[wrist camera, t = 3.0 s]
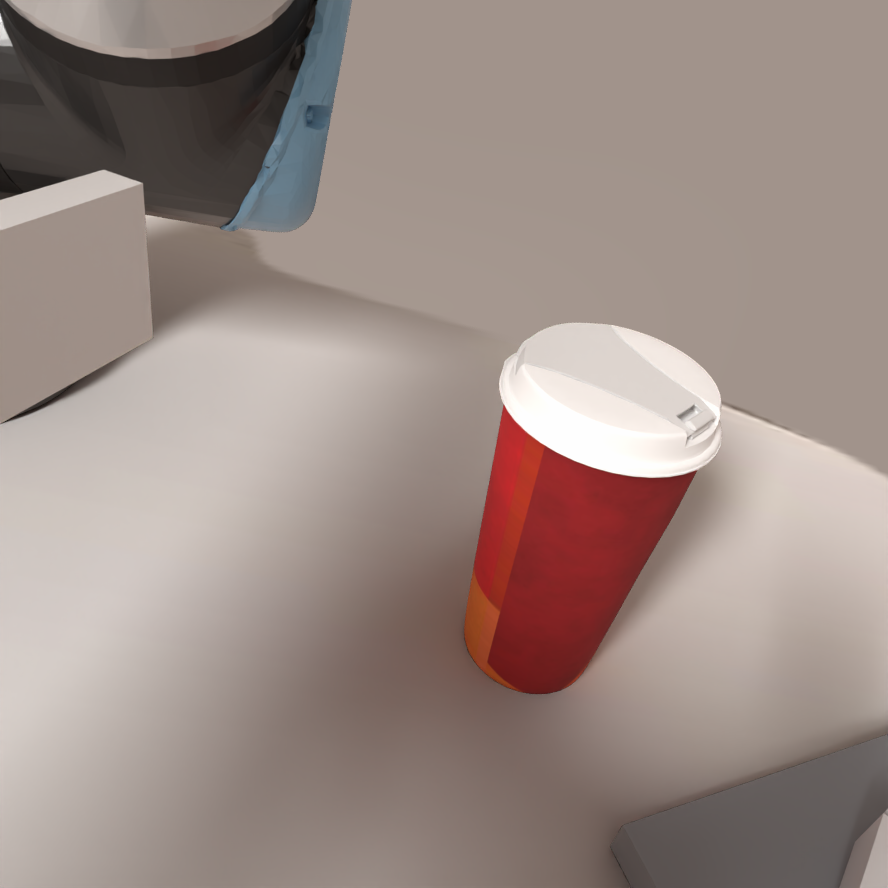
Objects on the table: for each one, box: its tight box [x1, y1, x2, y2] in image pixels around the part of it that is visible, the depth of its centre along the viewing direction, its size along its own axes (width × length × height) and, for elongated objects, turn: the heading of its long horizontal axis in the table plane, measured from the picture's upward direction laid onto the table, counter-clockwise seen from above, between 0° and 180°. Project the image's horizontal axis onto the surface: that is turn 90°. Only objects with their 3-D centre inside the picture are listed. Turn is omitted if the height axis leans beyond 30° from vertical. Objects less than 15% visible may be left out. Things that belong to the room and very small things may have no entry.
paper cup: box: [464, 322, 722, 694], centre depth 30 cm, size 8×8×14 cm
